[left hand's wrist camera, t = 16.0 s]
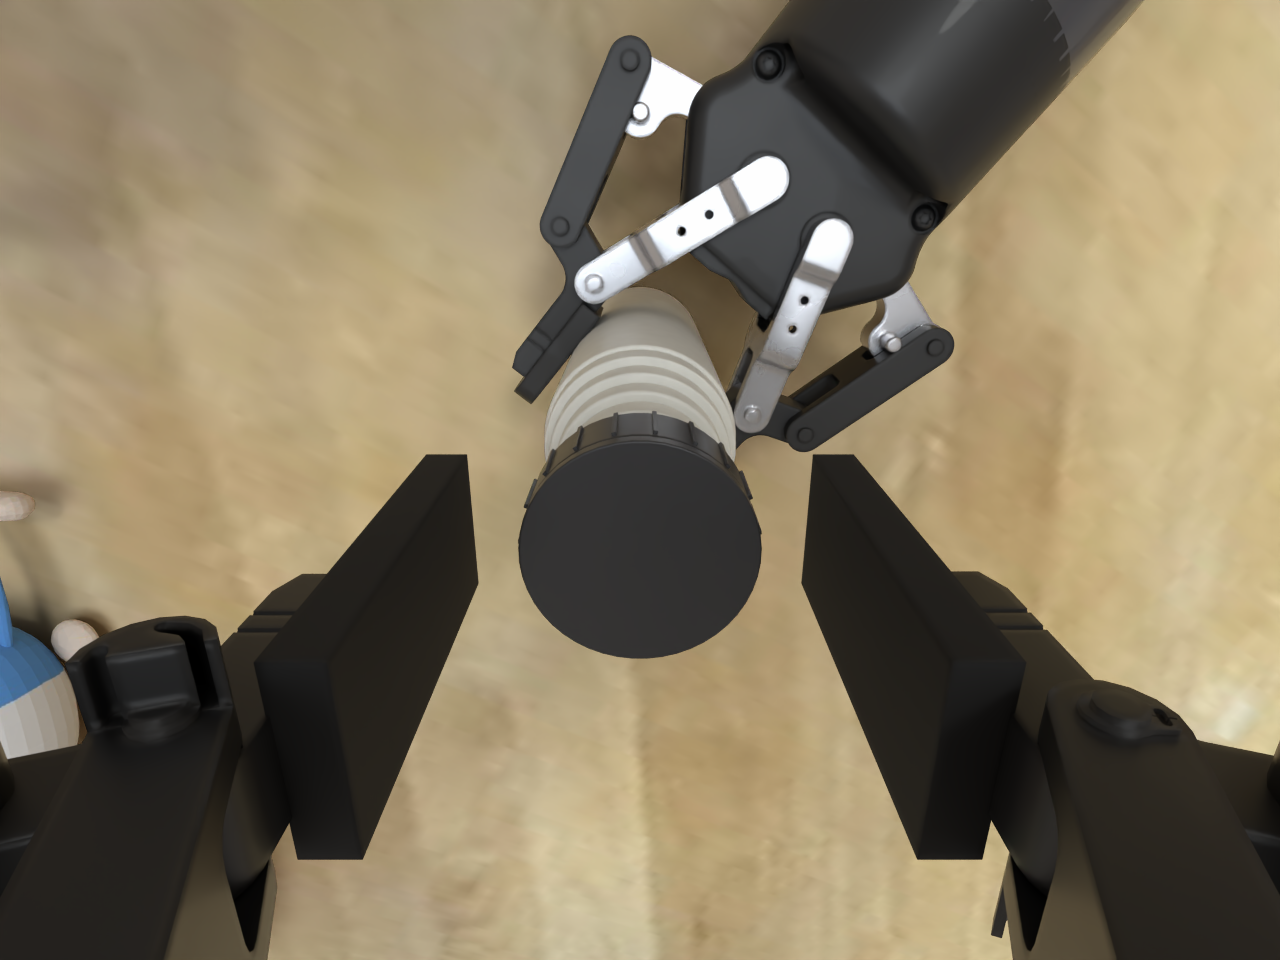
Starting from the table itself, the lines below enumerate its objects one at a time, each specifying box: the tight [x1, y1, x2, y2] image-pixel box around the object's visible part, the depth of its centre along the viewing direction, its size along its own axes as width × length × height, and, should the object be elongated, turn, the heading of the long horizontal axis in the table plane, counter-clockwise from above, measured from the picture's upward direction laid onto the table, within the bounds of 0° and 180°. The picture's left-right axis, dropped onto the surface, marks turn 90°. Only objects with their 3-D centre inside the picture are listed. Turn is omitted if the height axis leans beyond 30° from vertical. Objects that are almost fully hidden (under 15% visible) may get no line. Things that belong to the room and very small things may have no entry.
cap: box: [518, 411, 762, 658], centre depth 13 cm, size 4×4×2 cm
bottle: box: [544, 287, 736, 462], centre depth 22 cm, size 5×5×18 cm
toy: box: [0, 491, 99, 759], centre depth 34 cm, size 18×10×30 cm
